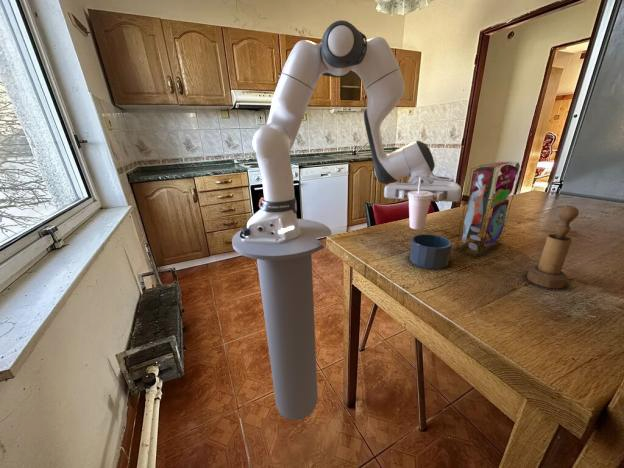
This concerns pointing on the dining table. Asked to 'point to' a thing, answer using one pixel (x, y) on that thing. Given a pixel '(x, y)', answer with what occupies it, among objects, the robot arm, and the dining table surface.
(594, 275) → the dining table surface
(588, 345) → the dining table surface
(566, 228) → the mortar and pestle
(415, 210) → the smoothie
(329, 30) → the robot arm
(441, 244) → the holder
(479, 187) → the box
